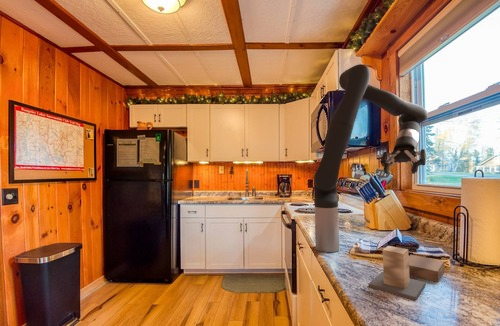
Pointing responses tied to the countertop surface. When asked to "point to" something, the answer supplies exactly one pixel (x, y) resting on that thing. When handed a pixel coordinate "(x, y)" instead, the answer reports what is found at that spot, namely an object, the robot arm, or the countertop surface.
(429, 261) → the walnut ledge
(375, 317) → the countertop surface
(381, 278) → the slate mat
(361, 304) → the countertop surface
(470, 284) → the countertop surface
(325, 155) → the robot arm
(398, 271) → the maple block
